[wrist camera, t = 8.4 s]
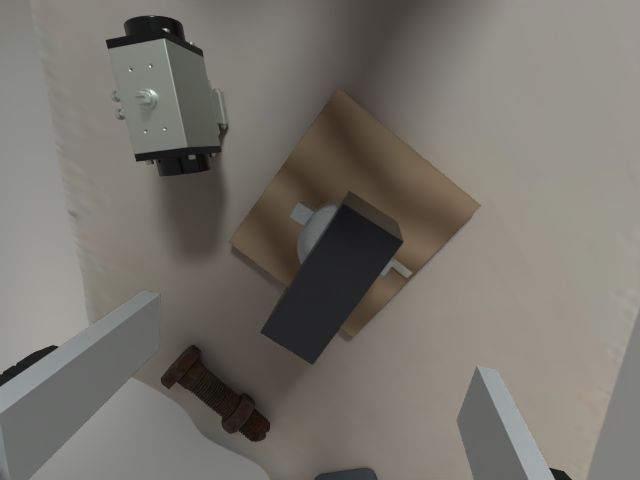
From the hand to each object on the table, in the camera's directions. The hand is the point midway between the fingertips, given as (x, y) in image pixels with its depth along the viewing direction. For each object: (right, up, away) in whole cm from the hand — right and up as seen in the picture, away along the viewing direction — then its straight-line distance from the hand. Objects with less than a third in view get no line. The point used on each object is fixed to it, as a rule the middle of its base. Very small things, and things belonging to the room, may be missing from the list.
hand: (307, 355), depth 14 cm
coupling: (+3, +5, +19) cm, 20 cm away
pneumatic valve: (-11, +19, +23) cm, 31 cm away
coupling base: (+4, +7, +24) cm, 25 cm away
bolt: (-12, -15, +33) cm, 38 cm away
